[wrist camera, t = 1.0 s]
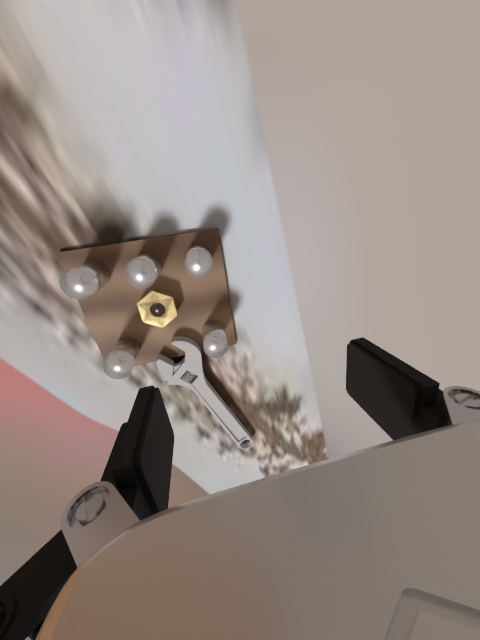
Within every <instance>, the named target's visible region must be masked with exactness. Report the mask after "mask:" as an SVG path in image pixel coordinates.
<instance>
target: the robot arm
mask: <svg viewBox="0 0 480 640" xmlns="http://www.w3.org/2000/svg"><path fill="white" fill-rule="evenodd" d="M346 390H347V392H348V394H349V395H350V396H351V397H352V398H353V399H354V400H355V401H356V402H357V403H358V404H359V405H360V407H361V408H362V409H363V410H364V411H365V412H367V414H368V415H369V416H370V417H371V418H372V419H373V420H374V421H375V422H376V423H377V424H378V425H379V426H380V427H381V428H382V429H383V430H384V431H385V432H386V433H387V434H388V435H389V436H390V437H391V438H392V439H393V441H390V442H386V443H383V444H379V445H376V446H372V447H369V448H365V449H362V450H358V451H355V452H352V453H348V454H345V455H342V456H338V457H334V458H331V459H327V460H324V461H321V462H317V463H314V464H310V465H307V466H304V467H300V468H297V469H293V470H290V471H287V472H283V473H280V474H277V475H273V476H270V477H267V478H263V479H260V480H257V481H253V482H250V483H247V484H243V485H240V486H237V487H233V488H230V489H227V490H223V491H220V492H217V493H214V494H211V495H208V496H205V497H202V498H198V499H195V500H192V501H189V502H186V503H182V504H180V505H177V506H174V507H172V508H169V509H168V499H169V489H170V478H171V468H172V457H173V446H174V433H173V430H172V427H171V424H170V421H169V417H168V414H167V411H166V408H165V405H164V402H163V399H162V396H161V393H160V390H159V388H154V386H148V387H144V388H140V389H139V391H138V394H137V397H136V400H135V403H134V405H133V408H132V411H131V414H130V417H129V420H128V422H126V423H124V424H122V426H121V428H120V431H119V433H118V436H117V439H116V441H115V444H114V447H113V449H112V452H111V455H110V457H109V460H108V462H107V465H106V468H105V470H104V473H103V476H102V478H101V481H100V482H96V483H94V484H92V485H90V486H88V487H86V488H85V489H83V490H82V491H81V492H79V493H78V494H77V495H76V496H75V497H74V498H73V499H72V501H71V502H70V503H69V505H68V506H67V507H66V509H65V511H64V513H63V515H62V519H61V530H60V531H59V532H58V533H57V534H56V535H55V536H54V537H53V538H52V539H51V540H50V541H49V542H47V543H46V544H45V545H44V546H43V547H42V548H41V549H40V550H39V551H38V552H37V553H36V554H34V555H33V556H32V557H31V558H30V559H29V560H28V561H27V562H26V563H25V564H24V565H23V566H22V567H21V568H20V569H18V570H17V571H16V572H15V573H14V574H13V575H12V576H11V577H10V578H9V579H8V580H7V581H6V582H4V583H3V584H2V585H1V586H0V640H480V391H477V390H474V389H471V388H467V387H460V386H452V387H448V388H445V390H444V391H441V390H440V389H439V383H438V382H436V381H435V380H433V379H431V378H430V377H428V376H426V375H425V374H423V373H421V372H419V371H418V370H416V369H415V368H413V367H411V366H410V365H408V364H406V363H404V362H403V361H401V360H400V359H398V358H396V357H395V356H393V355H391V354H390V353H388V352H386V351H385V350H383V349H381V348H380V347H378V346H376V345H375V344H373V343H371V342H370V341H368V340H366V339H365V338H358V339H354V340H351V341H350V343H349V344H348V345H347V371H346Z"/></svg>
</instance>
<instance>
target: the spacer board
mask: <svg viewBox="0 0 480 640" xmlns="http://www.w3.org/2000/svg"><path fill="white" fill-rule="evenodd" d="M194 245H201V246H203V247H205V248H206V249H207V250H208V251H209V253H210V255H211V256H212V258H213V261H214V267H213V270H212V272H211V273H210V274H209V275H208V276H207V277H205V278H195V277H192V276H191V275H190V274H189V273H188V272H187V271H186V269H185V257H186V253H187V251H188V249H189V248H190V247H192V246H194ZM144 253H150V254H153V255H155V256H156V257H157V258H158V259H159V260H160V262H161V266H162V268H161V272H160V274H159V275H158V277H157V278H156V280H155V281H154V283H153V284H152V285H151V286H150V287H148V288H144V289H140V288H136V287H133V286H132V285H130V284H129V283H128V282H127V280H126V278H125V275H124V269H125V266H126V264H127V263H128V262H129V261H131V260H133V259H134V258H136V257H138V256H139V255H141V254H144ZM58 255H59V257H60V260H61V262H62V264H63V267H64V269H65V271H67V270H70V269H73V268H75V267H78V266H81V265H83V264H86V263H89V262H99V263H101V264H103V265H104V266H106V267H107V269H108V270H109V272H110V281H109V282H108V284H107V285H105V286H104V287H102V288H101V289H100V290H98V291H97V292H95V293H94V294H93V295H91V296H90V297H88V298H86V299H78V301H79V303H80V306H81V308H82V310H83V312H84V315H85V317H86V319H87V322H88V324H89V326H90V328H91V331H92V333H93V335H94V338H95V340H96V342H97V344H98V347H99V349H100V351H101V354H102V356H103V358H104V361H106V359H107V358H108V356H109V355H110V353H111V351H112V350H113V348H114V347H115V345H116V343H117V342H118V341H119V340H120V339H121V338H124V337H131V338H134V339H135V340H137V341H138V342H139V344H140V351H139V353H138V356H137V358H136V361H135V363H134V366H136V365H141V364H145V363H150V362H155V361H157V358H158V355H159V354H162V355H164V356H166V357H167V358H173V357H178V356H183V355H185V351H183V350H181V349H179V348H178V347H176V346H174V345H172V344H171V339H172V338H173V337H176V336H183V337H187V338H190V339H192V340H193V341H195V342H196V343H197V344H198V345H199V347H200V350H201V351H204V347H203V337H202V327H203V325H204V324H205V323H206V322H207V321H210V320H216V321H219V322H220V323H221V324H222V326H223V329H224V332H225V335H226V338H227V342H228V346H229V345H234V344H236V338H235V331H234V325H233V319H232V313H231V307H230V300H229V294H228V288H227V282H226V276H225V269H224V263H223V257H222V251H221V245H220V238H219V232H218V228H216V229H209V230H202V231H196V232H189V233H183V234H176V235H169V236H163V237H156V238H150V239H143V240H136V241H130V242H123V243H117V244H110V245H103V246H97V247H90V248H84V249H77V250H70V251H64V252H58ZM154 287H157V288H160V289H163V290H166V291H169V292H172V293H174V296H175V300H176V304H177V308H178V315H177V316H176V317H175V318H174V319H173V320H172V321H170V322H169V323H168V324H167V325H166V326H164V327H163V328H162V327H158V326H155V325H151V324H147V323H144V322H143V321H142V318H141V315H140V312H139V309H138V305H137V303H138V302H139V300H140V299H141V298H142V297H143V296H144V295H146V294H147V293H148V292H149V291H150V290H151V289H153V288H154Z"/></svg>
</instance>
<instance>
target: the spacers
mask: <svg viewBox="0 0 480 640" xmlns="http://www.w3.org/2000/svg"><path fill="white" fill-rule="evenodd" d="M213 267H214V261H213V258H212V256H211V255H210V253H209V251H208V250H207V249H206V248H205V247H203V246H201V245H194V246H192V247H190V248H189V249H188V251H187V253H186V257H185V269H186V271H187V272H188V273H189V274H190V275H191V276H192V277H195V278H205V277H207V276H208V275H209V274H210V273H211V272H212V270H213ZM161 268H162V266H161V262H160V260H159V259H158V258H157V257H156V256H155V255H153V254H150V253H144V254H141V255H139V256H138V257H136V258H134V259H133V260H131V261H129V262H128V263H127V264H126V266H125V269H124V275H125V278H126V280H127V282H128V283H129V284H130V285H132V286H133V287H136V288H140V289H144V288H148V287H150V286H151V285H152V284H153V283H154V281H155V280H156V278H157V277H158V275H159V274H160V272H161ZM109 281H110V272H109V270H108V269H107V267H106V266H104V265H103V264H101V263H99V262H89V263H86V264H83V265H81V266H78V267H75V268H73V269H70V270H67V271H65V272H64V273H63V274H62V275H61V277H60V286H61V289H62V290H63V292H64V293H65V294H66V295H68V296H69V297H71V298H74V299H86V298H88V297H90V296H91V295H93V294H94V293H95V292H97V291H98V290H100V289H101V288H102V287H104V286H105V285H107V284H108V282H109ZM202 337H203V347H204V351H205V353H206V354H207V355H208V356H210V357H213V358H217V357H221V356H223V355H224V354H225V353H226V352H227V350H228V342H227V338H226V335H225V332H224V329H223V326H222V324H221V323H220V322H219V321H216V320H210V321H207V322H206V323H205V324H204V325H203V327H202ZM139 351H140V344H139V342H138V341H137V340H135V339H134V338H131V337H124V338H121V339H120V340H119V341H118V342H117V343H116V345H115V347H114V348H113V350H112V351H111V353H110V355H109V356H108V358H107V359H106V361H105V363H104V365H103V369H104V372H105V373H106V374H107V375H108V376H109V377H111V378H114V379H122V378H125V377H127V376H128V375H129V374H130V373H131V371H132V368H133V366H134V363H135V361H136V358H137V356H138V353H139Z"/></svg>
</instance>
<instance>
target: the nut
mask: <svg viewBox="0 0 480 640" xmlns="http://www.w3.org/2000/svg"><path fill="white" fill-rule="evenodd" d="M137 305H138V309H139V312H140V315H141V318H142V321H143V322H144V323H147V324H151V325H155V326H158V327H162V328H163V327H164V326H166V325H167V324H168V323H169V322H170V321H172V320H173V319H174V318H175V317H176V316H177V315H178V308H177V304H176V300H175V296H174V293H172V292H169V291H166V290H163V289H160V288H157V287H154V288H153V289H151V290H150V291H149V292H148V293H147V294H146V295H144V296H143V297H142V298H141V299H140V300H139V302H138V303H137Z"/></svg>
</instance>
